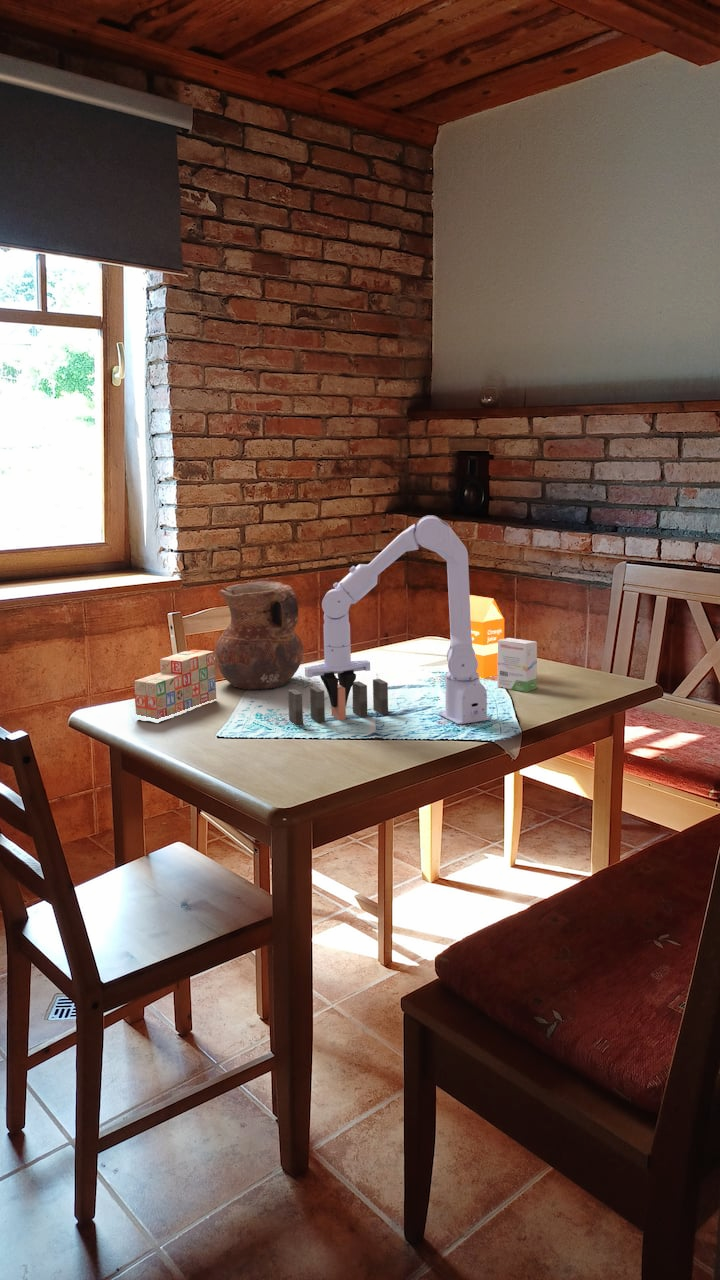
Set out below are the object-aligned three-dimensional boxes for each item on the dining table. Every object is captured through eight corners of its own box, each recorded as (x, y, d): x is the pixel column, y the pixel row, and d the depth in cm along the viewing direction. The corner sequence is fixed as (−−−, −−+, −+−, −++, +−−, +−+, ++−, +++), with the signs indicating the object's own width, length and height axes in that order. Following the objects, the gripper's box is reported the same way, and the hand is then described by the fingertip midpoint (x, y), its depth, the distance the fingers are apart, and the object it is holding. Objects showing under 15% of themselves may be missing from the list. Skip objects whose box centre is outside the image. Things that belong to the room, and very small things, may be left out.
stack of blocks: (158, 724, 212) (154, 669, 209) (135, 721, 215) (132, 667, 212) (217, 701, 230) (214, 650, 228) (195, 698, 233) (193, 648, 231)
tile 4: (303, 725, 209) (302, 693, 207) (296, 726, 208) (295, 694, 207) (296, 720, 213) (295, 689, 211) (289, 721, 212) (288, 690, 211)
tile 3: (325, 722, 211) (324, 690, 209) (318, 723, 210) (317, 691, 209) (317, 717, 215) (316, 686, 213) (310, 718, 214) (309, 687, 213)
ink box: (537, 688, 235) (538, 640, 233) (526, 692, 232) (526, 644, 229) (508, 683, 241) (508, 636, 238) (496, 687, 237) (496, 639, 235)
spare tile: (345, 719, 213) (345, 688, 211) (339, 720, 212) (338, 688, 211) (338, 714, 217) (337, 683, 215) (331, 715, 216) (330, 684, 215)
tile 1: (388, 713, 216) (387, 682, 215) (381, 714, 216) (381, 683, 214) (379, 708, 220) (379, 678, 219) (373, 709, 220) (372, 679, 218)
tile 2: (367, 716, 214) (366, 685, 213) (360, 717, 214) (360, 686, 212) (359, 711, 218) (358, 681, 217) (353, 712, 218) (352, 682, 216)
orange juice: (479, 668, 257) (479, 593, 253) (504, 674, 250) (505, 596, 247) (458, 673, 252) (458, 596, 249) (483, 679, 246) (483, 600, 242)
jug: (205, 693, 237) (200, 591, 233) (228, 673, 258) (224, 579, 253) (295, 694, 234) (291, 591, 229) (311, 674, 255) (308, 579, 250)
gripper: (360, 638, 217) (361, 697, 220) (299, 644, 212) (301, 705, 214) (373, 643, 211) (374, 704, 214) (310, 650, 205) (312, 713, 208)
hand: (338, 705), depth 214 cm, fingers closed on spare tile, 2 cm apart
